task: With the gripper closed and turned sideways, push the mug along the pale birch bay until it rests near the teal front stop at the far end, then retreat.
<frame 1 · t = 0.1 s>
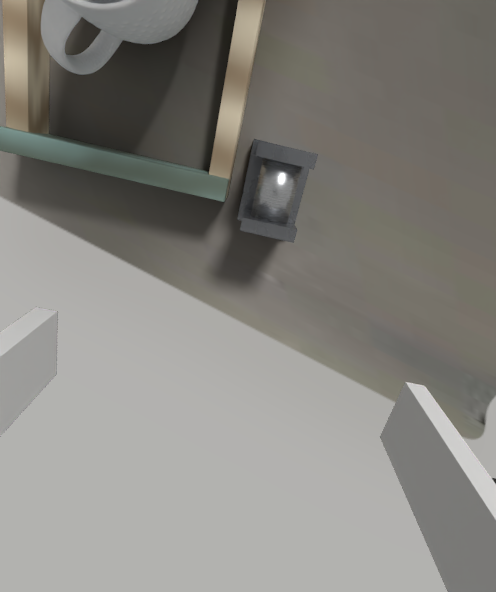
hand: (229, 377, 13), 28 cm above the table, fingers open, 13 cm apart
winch: (273, 186, 38), on the table
mug: (146, 2, 32), on the table
bay: (140, 58, 33), on the table
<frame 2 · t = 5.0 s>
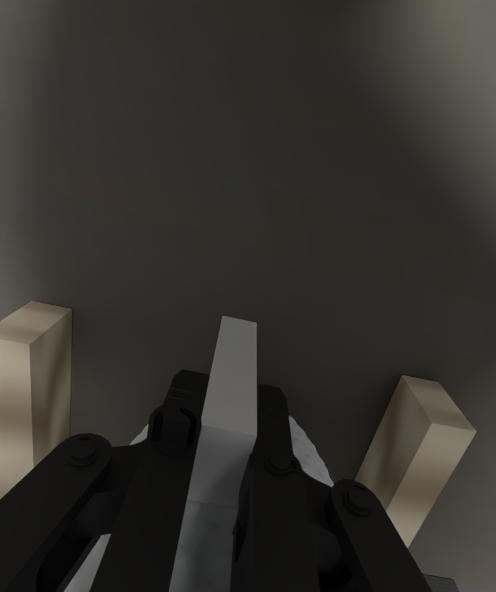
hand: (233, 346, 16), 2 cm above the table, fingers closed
mug: (217, 440, 21), on the table, touching gripper
bay: (207, 487, 22), on the table
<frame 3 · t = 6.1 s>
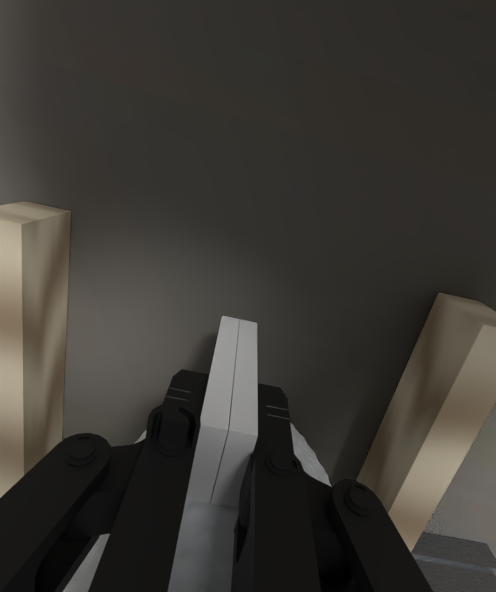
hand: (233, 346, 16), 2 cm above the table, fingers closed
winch: (416, 576, 23), on the table
mug: (216, 448, 20), on the table, touching bay, gripper
bay: (217, 433, 20), on the table
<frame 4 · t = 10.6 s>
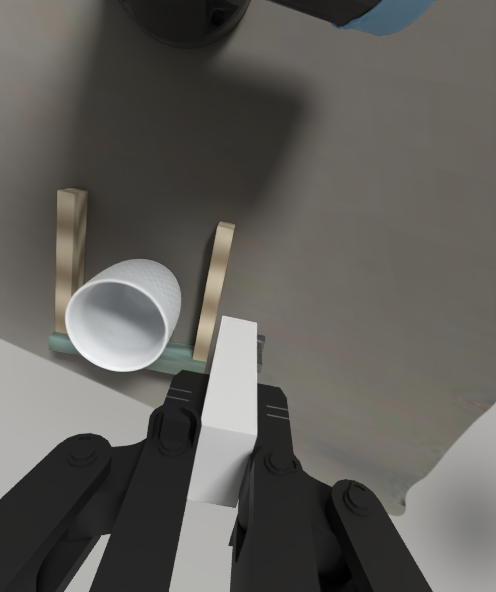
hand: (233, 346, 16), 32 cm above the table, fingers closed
mug: (146, 290, 50), on the table
bay: (145, 281, 49), on the table
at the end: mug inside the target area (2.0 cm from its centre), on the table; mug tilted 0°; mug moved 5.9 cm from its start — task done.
